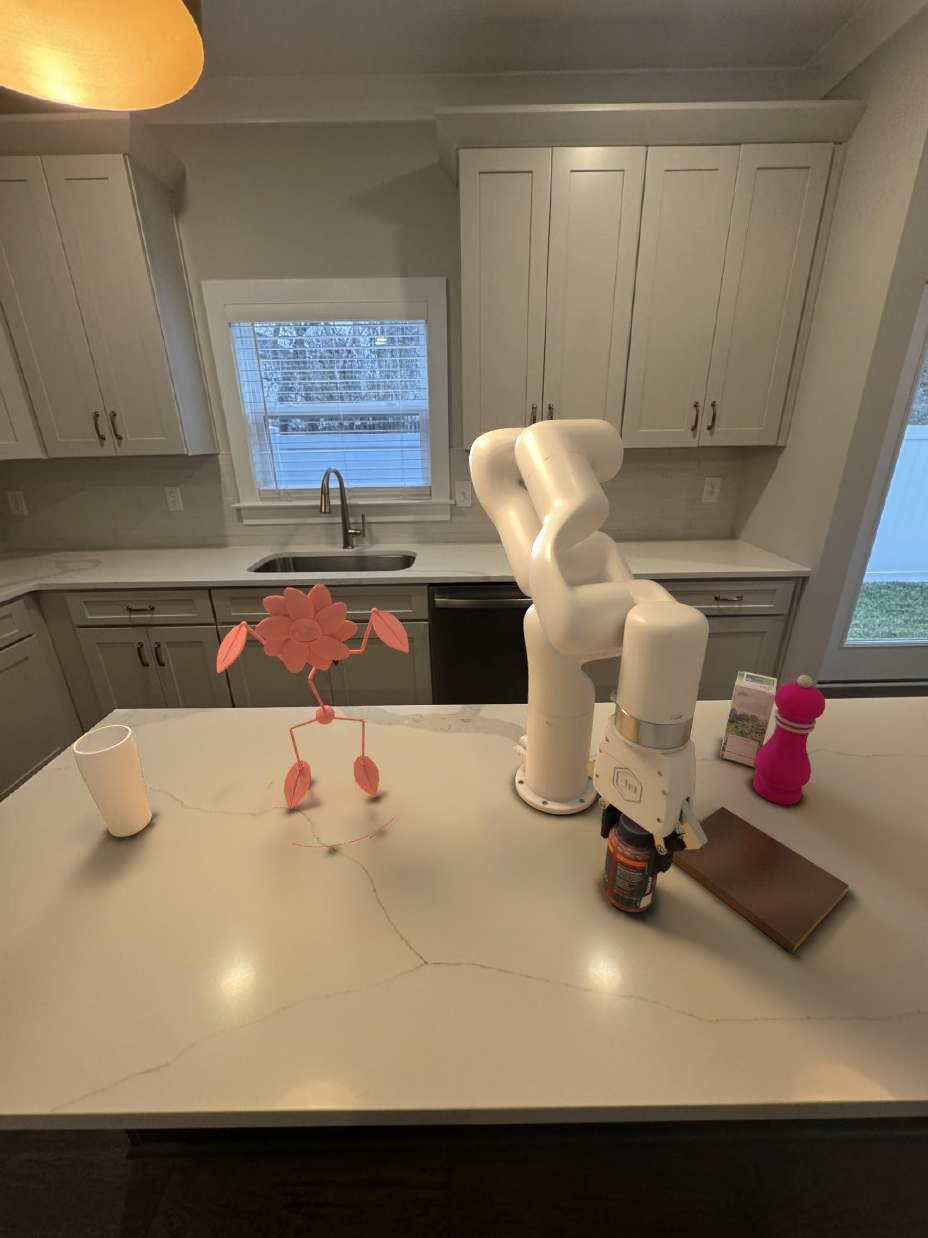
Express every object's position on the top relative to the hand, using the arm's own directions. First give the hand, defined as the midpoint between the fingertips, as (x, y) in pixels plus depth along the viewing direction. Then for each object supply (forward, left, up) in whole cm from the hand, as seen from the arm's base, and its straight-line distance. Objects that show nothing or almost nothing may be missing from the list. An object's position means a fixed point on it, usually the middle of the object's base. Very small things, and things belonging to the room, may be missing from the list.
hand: (633, 849), depth 59 cm
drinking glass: (-48, -50, -7) cm, 70 cm away
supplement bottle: (0, 0, -7) cm, 7 cm away
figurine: (-34, -25, -7) cm, 43 cm away
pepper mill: (+1, +33, -7) cm, 34 cm away
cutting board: (+7, +15, -7) cm, 18 cm away
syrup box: (-7, +37, -7) cm, 38 cm away
